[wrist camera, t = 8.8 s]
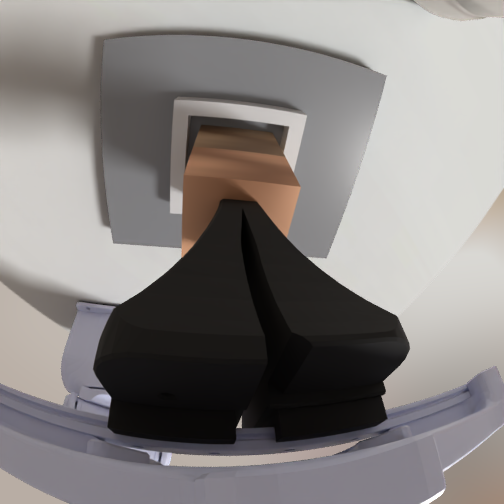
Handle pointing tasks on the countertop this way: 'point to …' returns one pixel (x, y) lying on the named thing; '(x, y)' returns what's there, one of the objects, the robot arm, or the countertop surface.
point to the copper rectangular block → (235, 178)
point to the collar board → (229, 115)
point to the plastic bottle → (464, 8)
